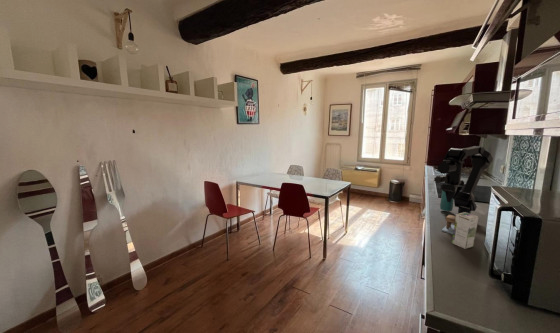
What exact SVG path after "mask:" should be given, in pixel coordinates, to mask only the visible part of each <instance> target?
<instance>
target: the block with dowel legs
mask: <svg viewBox="0 0 560 333" xmlns="http://www.w3.org/2000/svg"><path fill="white" fill-rule="evenodd" d="M455 219H456V215H451V214H448V215H447V216H446V217H445V222H446V225H445V226H446V228H447V229H449V227H451V225H452V224H455Z"/></svg>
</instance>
